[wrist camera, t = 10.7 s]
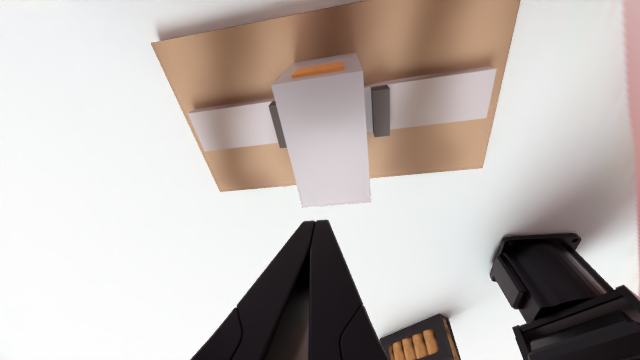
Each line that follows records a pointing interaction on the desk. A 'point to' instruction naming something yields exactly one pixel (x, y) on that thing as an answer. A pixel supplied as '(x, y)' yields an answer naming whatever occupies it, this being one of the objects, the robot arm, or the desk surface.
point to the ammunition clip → (422, 341)
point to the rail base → (378, 74)
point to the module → (326, 129)
